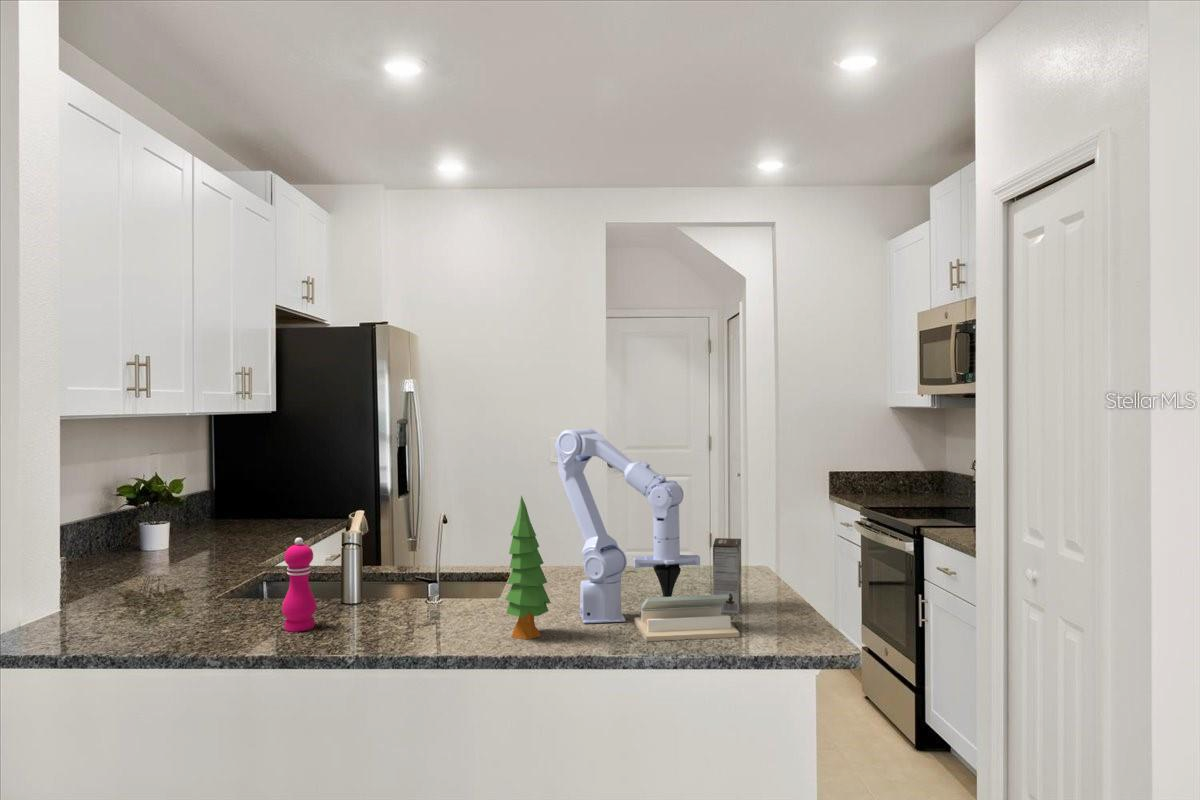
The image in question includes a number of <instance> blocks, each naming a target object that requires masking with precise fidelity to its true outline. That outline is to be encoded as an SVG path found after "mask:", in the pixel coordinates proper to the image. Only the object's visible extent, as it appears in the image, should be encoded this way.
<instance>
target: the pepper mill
mask: <svg viewBox="0 0 1200 800" xmlns="http://www.w3.org/2000/svg"><path fill="white" fill-rule="evenodd" d="M303 543H304V539H303V538H302V537H296V538H295V539H294V544H293V545H290V546H289V547H288V548H287V549H286V551H285V553H284V562H285V564H286V565H287V568H286V574H287V575H288V577H289V586H288V589H287V592H286V594H285V597H284V599H283V602H282V606H281V613H282V615H283V616H284V617H285V618H286V619H285V620H284V623H283V624H284V626H283V627H284V630H285V631H287V632H293V633H294V632H297V633H298V632H305V631H309V630H311V629H314V627H315V625H316V624H315V620H316V619H315V617H313V616H314V614H315V613H316V612H317V609H318V607H317V601H316V598H315V596H314V593H313V592H312V590H311V586H310V582H309V581H310V580H309V578H310V573H311V572H312V570H311V568H312V566H311V563H312V562H313V560H314V552H313V549H312V548H311V547H310V546H309V545H307V544H303Z"/></svg>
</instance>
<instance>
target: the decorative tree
mask: <svg viewBox="0 0 1200 800" xmlns="http://www.w3.org/2000/svg"><path fill="white" fill-rule="evenodd" d="M510 536H512V537H511V538H512V539H511V543H510V547H509V553H508V555H511V558H510V559H511V560H510V565H509V569H512V570H511V573H510V575H509V578H508V580H507V583H506V585H511V587H510V589H509V591H508V593H507V595H506V598H505V601H507V602H509V604H508V606H507V609H506V612H505V613H506V615H507V614H508V615H511V616H514V617H518V619H517V622H516V624H515V625H514V628H513V631H512V634H511V638H514V639H522V640H533V639H535V638H540V637H542V634H541V633H540V631H539V630H538V628H537V627H536V624H535V623H536V622H535V617H539V616H542V615H544V614H545V613H548V612H549V608H548V606H547V604H550V603H551V600H550V598H549V596H548V594H547V591H546V589H545V586H544V584H546V583H548V581H547V578H546V575H545V574H544V571H543V569H542V567H541V565H543V564H545V562H544V560H543V558H542V556H541V553H540V552H539V549H538V548H539V547H540V545H539V542H538V540H537V538H536V537H537V534H536V532H535V529H534V527H533V525H532V522H531V519H530V516H529V512H528V508H527V505H526V503H525V502H524V498H523V496H522V495H520V501H519V508H518V511H517V515H516V520H515V523H514V525H513V527H512V530H511V533H510Z"/></svg>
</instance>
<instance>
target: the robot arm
mask: <svg viewBox="0 0 1200 800" xmlns="http://www.w3.org/2000/svg"><path fill="white" fill-rule="evenodd" d="M554 449H555V450H556V453H557V471H558V475H559V478H560V480H561V483H562V485H563V488H564V490H565V493H566V495H567V496H566V497H567V499H568V502H569V504H570V507H571V509H572V511H573V515H574V516H575V517H574V518H575V520H576V523H577V524H578V528H579V531H580V533H581V535H582V539H583V541H584V545H583V548H582V550H581V556H582V561H583V571H584V574H585V575H586V577H587V578H588V579H587V580H584V579H583V580H581V581H580V583H579V584H580V587H579V593H580V594H579V600H580V601H579V615H580V617H581V620H582V622H583V624H601V623H605V624H606V623H622V622H626V617H625V616H624V615H623V613H622V576H623V575H622V573H623V572H624V571H625V570H626V568H627V565H628V560H627V556H626V553H625V552H624V551H623V550H622V549H621V548H620V547H619V545H618V543H617V540H616V539H614V538H613V537H611V536H610V535H609V534H608V533H607V530H606V527H605V525H604V522H603V519H602V517H601V514H600V512H599V510H598V507H597V503H596V501H595V499H594V496H593V493H592V491H591V489H590V486H589V483H588V481H587V478H586V475H585V473H584V470H585V468H586V466H587V464H588V462H589V461H591V459H592V458H593V457H598V458H599V459H601V460H602V461H603V462H605V463H607V464H608V465H610V466H611V467H613V468H614V469H616V470H617V471H619V473H622V474H623V475H624V480H625V483H626V484H628V485H630V486H631V487H632V488H633V489H634V490H636V491H637V492H638V493H640V494H641V495H643V496H644V498H647V501H648V504H649V505H650V507H651V509H652V521H653V522H652V529H653V530H652V531H653V532H652V533H653V536H652V537H653V539H652V540H653V544H652V545H653V555H650V556H641V557H640V556H639V557H632V560H633V561H632V563H633V568H634V569H640V568H652V569H653V571H654V572H655V575H656V577H657V579H658V581H659V585H660V589H661V593H662V597H673V592H674V588H675V584H676V582H677V579H678V578H679V575H680V573H681V567H680V566H683V567H684V566H696V567H698V566H701V556H700V555H697V554H695V555H694V554H693V555H690V554H680V553H681V552H680V551H681V549H680V547H681V546H680V545H681V544H680V543H681V542H680V539H681V538H680V537H681V536H680V534H681V533H680V504H681V503H682V502H683V499H684V491H683V488H682V486H681V485H680V484H679V483H678V482H677V481H676V480H672V479H671V480H667V477H666V476H665V475H664V474H661V475H660V474H659V473H658V472H656V471H655V470H653V469H652V468H651V467H650V466H651V465H650V463H648V462H647V461H644V462H642V461H636V462H635V461H632V460H631V459H630V458H629V457H627V455H625V454H624V453H623V452H622V451H620V450H619V449H618V448H617V447H616V446H614V445H613V444H612V443H611V442H610V441H608V440H607V439H606V438H605V436H604V435H603V434H601V433H599V432H598V431H596V429H594V428H590V427H587V428H583V429H582V428H580V429H565V430H563V431H561V433H560V434H559V435H558V437H557V439H556V442H555V444H554Z"/></svg>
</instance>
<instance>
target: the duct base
mask: <svg viewBox="0 0 1200 800" xmlns="http://www.w3.org/2000/svg"><path fill="white" fill-rule="evenodd" d="M640 611H641V613H640V616H639V617H634V620H633V621H634V624H635V625H636V627H637V629H638V628H639V629H638V631H639V632H640V633H641V635H642V637H643V639H644V640H645V641H646V642H664V641H665V640H666V641H684V640H686V639H688V640H704V639H705V640H706V639H708V640H709V639H726V638H728V639H729V638H740V631H739V630H738V629H737V628H736V627H734V625H732V623H731V616H730V615H723V614H722V613H721V607H693V608H669V609H645V610H640Z"/></svg>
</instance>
